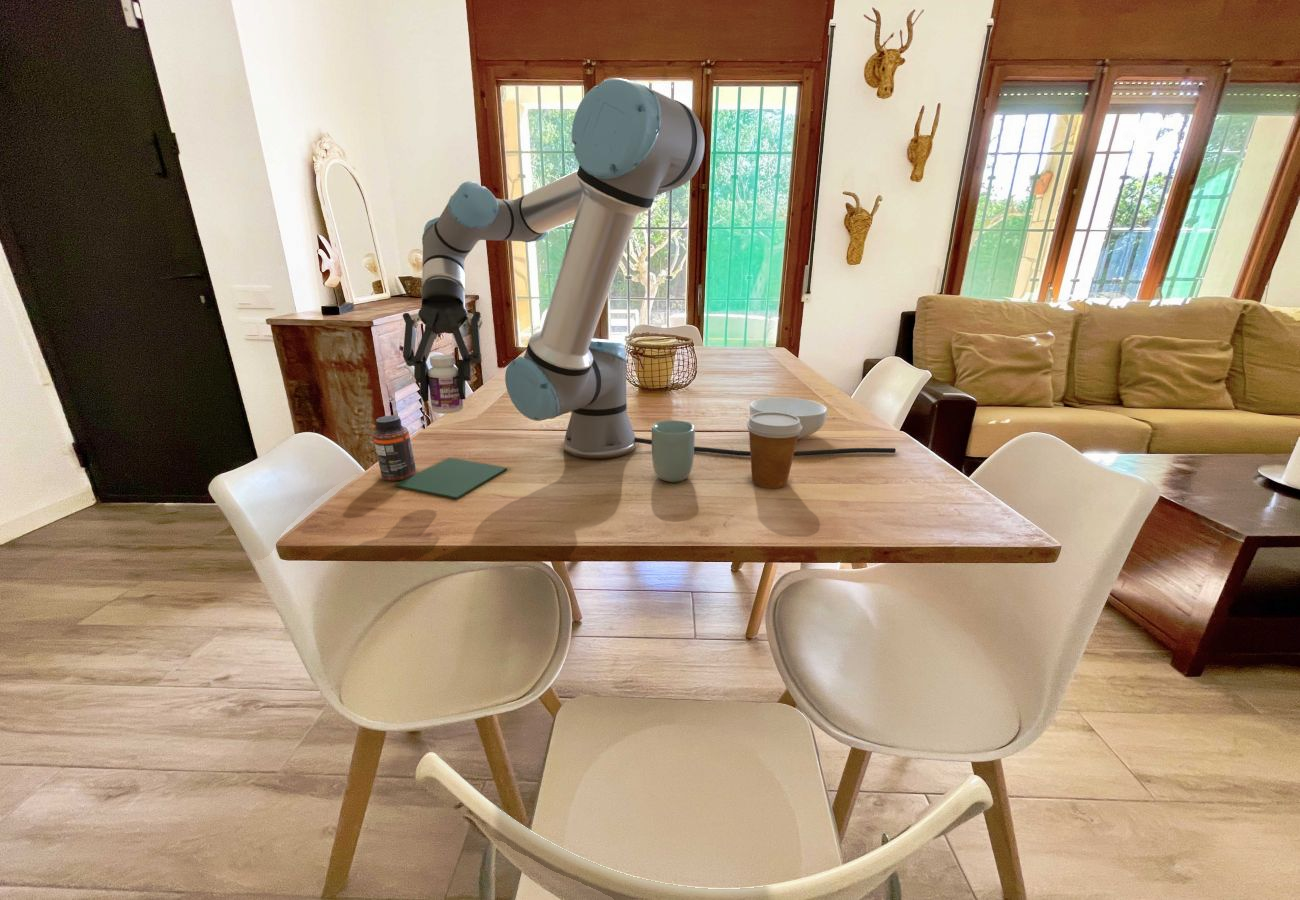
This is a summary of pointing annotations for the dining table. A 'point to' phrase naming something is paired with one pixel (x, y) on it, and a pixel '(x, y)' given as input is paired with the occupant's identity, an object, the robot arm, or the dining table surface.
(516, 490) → the dining table surface
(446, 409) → the pill bottle
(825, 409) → the cereal bowl
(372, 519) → the dining table surface
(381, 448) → the supplement bottle
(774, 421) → the disposable coffee cup
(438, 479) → the green mat
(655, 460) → the cup
